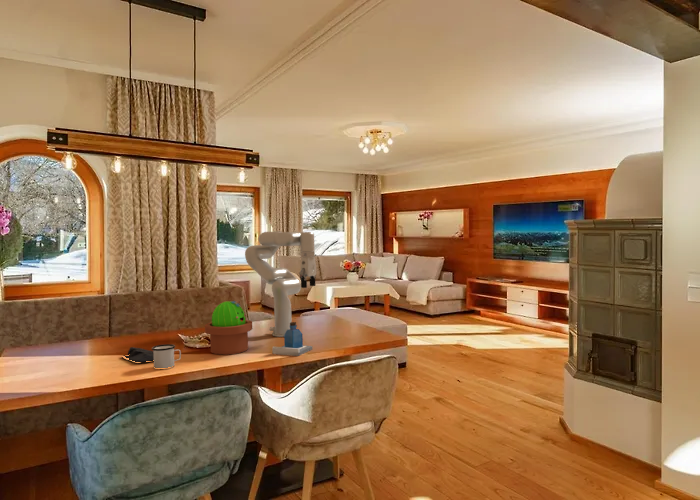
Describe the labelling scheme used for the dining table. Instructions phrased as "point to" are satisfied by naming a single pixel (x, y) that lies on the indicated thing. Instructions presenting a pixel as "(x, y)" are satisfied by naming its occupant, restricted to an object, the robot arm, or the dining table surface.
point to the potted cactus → (228, 329)
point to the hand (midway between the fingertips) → (308, 286)
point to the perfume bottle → (293, 337)
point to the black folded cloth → (139, 355)
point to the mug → (164, 355)
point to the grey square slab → (291, 350)
